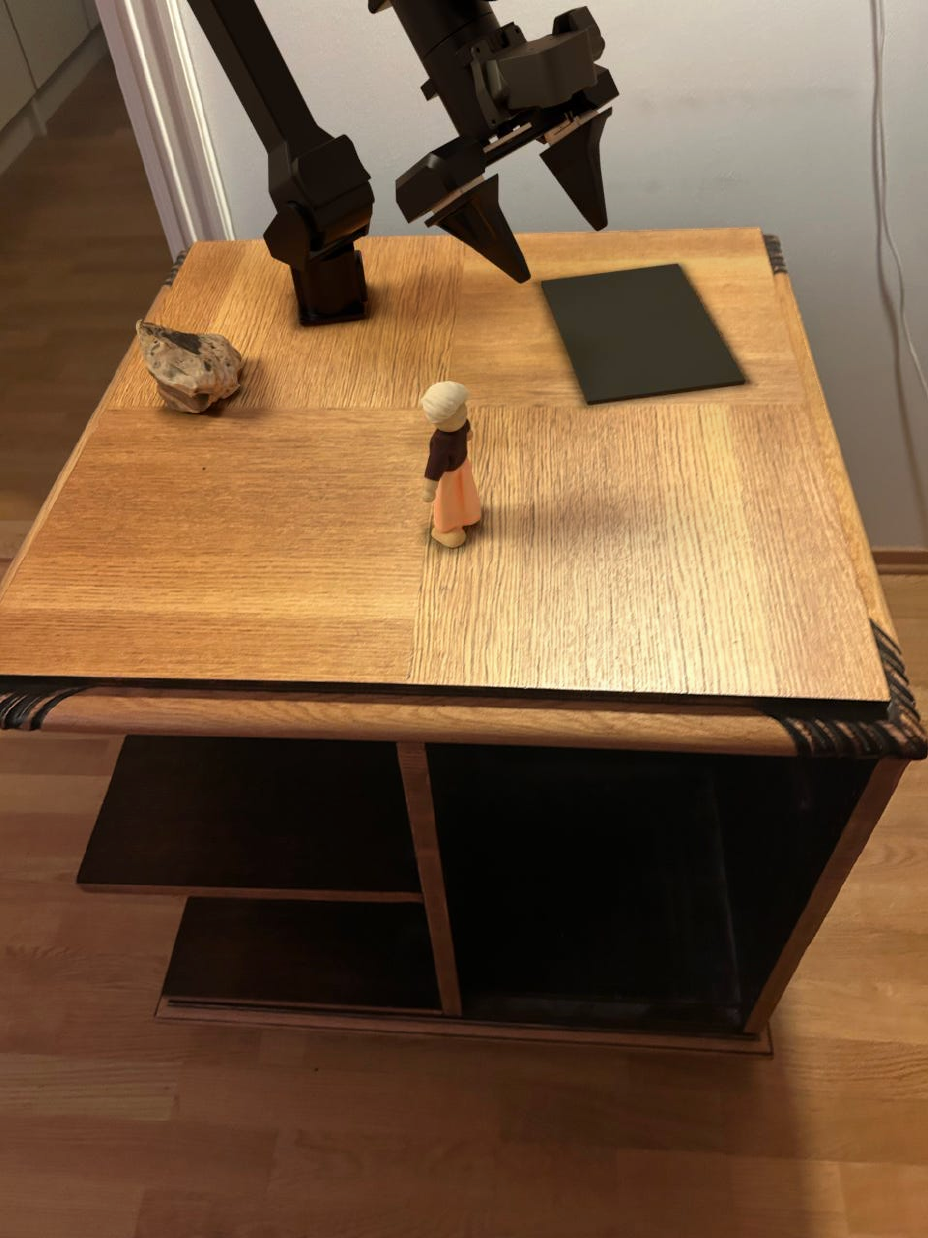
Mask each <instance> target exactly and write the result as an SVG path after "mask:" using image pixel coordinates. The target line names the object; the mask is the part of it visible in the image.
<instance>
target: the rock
mask: <svg viewBox="0 0 928 1238" xmlns="http://www.w3.org/2000/svg"><path fill="white" fill-rule="evenodd" d="M135 329H136V333H137V336H138V343H139V345H140V354H141V356H142V358H143V359H144V361H145V362H146V369H147V372H148V373H149V375H150V376H151V377H152V378H153V379H154V380H156V386H155V387H156V390H157V393H158V394H159V396H160V397H161V398H162V400H163V401H164V403H165V404H166V405H167V406H168V407H169V408H170V410H173V411H177V412H180V413H193V414H199V413H203V412H204V411H206V409H208V408H209V407H210V406H211V404H212V403H215V402H217V401H218V400H219V399H226V398H228V397H230V396H232V395H233V394H234V393H235V391H237V390H239V388H240V387H241V384H240V383H239V381H238V372H239V371H240V370H241V369H242V368H244V367H245V364H244V363H243V362H242V361H243V360H242V354H241V353H240V352H239V351H238V350H237V348H235V347H234V346H233V345H232V344H231V342H230V341H229V339H227V338H226V337H225V336H224V335H222V334H219V333H211V332H210V333H203V332H202V333H201V332H197V333H194V332H189V333H188V332H182V331H179V330H175V329H174V328H171V327H167V326H166V327H165V326H163V325H160V324H155V323H153V322H149V321H148V322H147V321H144V319H138V320H136V324H135Z"/></svg>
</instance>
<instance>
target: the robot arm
mask: <svg viewBox="0 0 928 1238" xmlns="http://www.w3.org/2000/svg"><path fill="white" fill-rule="evenodd" d="M497 1H498V0H367V9H368V12H369V13H370V14H372V15H376V14H378V13H380V12H383V11H385V10H388V9H390V8H392V9H393V11H394V13H395V15H396V17H397V18H398V21H399V22H400V25H401V26H402V28H403V31H404V32H405V34H406V36H407V38H408V40H409V42H410V44H411V46H412V48H413V49H414V51H415V54H416V55H417V58H418V59H419V61H420V63H421V65H422V67H423V69H424V71H425V73H426V75H427V77H428V79H427V80H426V81H425V82H424V83H423V84H421V86H419V89H420V90H421V92H422V95H423V96H424V98H425V100H426V102H429V101H431V100H433V99H435V98H437V97H438V98H439V100H440V102H441V104H442V106H443V107H444V109H445V111H446V113H447V116H448V117H449V119H450V121H451V123H452V125H453V127H454V129H455V130H456V131H455V132H456V133H457V134H458V136H457V137H455V138H453V139H451V140H449V141H448V142H445V143H444V144H442V145H440V146H439V147H437V148H435V149H432V150H431V151H429V152H428V153H427V154H426V155H424V156H423V157H422V158H421V159H419V160H418V161H417V162H416V163H415V164H413V165H412V166H411V167H410V168H408V169H407V170H406V171H405V172H403V173H402V174H401V175H400V176H399V177H397V178H396V179H395V180H394V181H395V185H394V188H395V203H396V204H397V207H398V208H399V211H400V212H401V213H402V215H403V217H404V219H405V221H406V222H407V224H408V225H409V224H412V223H414V222H415V221H416V220H418V219H420V218H422V217H423V216H425V215H427V214H428V213H430V212H432V214H433V215H431V216H429V218H427V219H426V220H424V221H423V223H424V225H425V227H426V228H427V229H430V228H432V227H433V226H436V227H438V228H439V229H441V230H442V231H445V233H447V234H449V235H451V236H452V237H454V238H456V239H457V240H459V241H460V242H461V243H463V244H465V245H467V246H468V247H470V248H471V249H472V250H473V251H475V252H477V253H478V254H479V255H481V256H482V257H483V258H485V259H486V260H487V261H489V262H490V263H491V264H493V265H494V266H495V267H496V268H498V269H499V270H500V271H502V272H503V273H505V275H507V276H508V277H510V278H511V279H512V280H513V281H515V282H516V283H518V284H520V285H522V284H524V283H526V282H528V281H529V280H531V278H532V274H531V271H530V269H529V266H528V262H527V260H526V258H525V256H524V253H523V251H522V249H521V247H520V246H519V245H520V244H519V243H518V241H517V239H516V237H515V234H514V233H513V230H512V229H511V227H510V224H509V222H508V220H507V218H506V216H505V214H504V212H503V210H502V208H501V206H500V203H499V199H500V198H499V197H500V196H499V195H500V193H499V190H500V189H499V187H500V177H499V176H500V175H499V172H497V173H495V174H493V175H492V176H489V177H488V178H486V179H485V177H484V174H485V173H486V169H488V168H490V166H492V165H494V164H496V163H497V162H499V161H501V160H502V159H504V158H506V157H508V156H510V155H511V154H513V153H515V152H516V151H518V150H520V149H522V148H523V147H525V146H527V145H528V144H530V143H532V142H535V141H536V142H538V143H539V144H542V145H544V146H545V145H546V144H548V146H549V147H547V148H546V149H544V150H543V151H541V152H540V153H539V154H538V156H539V157H540V159H541V160H542V162H543V163H544V165H545V166H546V167H547V169H548V170H549V172H550V173H551V174H552V177H554V178H555V180H556V181H557V183H558V184H559V185H560V187H561V188H562V189H563V191H564V192H565V194H566V195H567V196H568V198H569V199H570V200H571V203H573V205H574V206H575V208H576V209H577V210H578V212H579V213H580V215H581V216H582V217H583V218H584V219H585V221H586V222H587V223H588V224H589V225H590V226H591V228H592V229H593V230H594V231H595V232H600V231H602V230H604V229H605V228H607V227H608V226H609V220H608V212H607V204H606V197H605V187H604V181H603V173H602V165H601V164H602V163H601V148H600V145H601V140H602V136H603V132H604V130H605V126H606V123H607V120H608V119H609V118H610V117H611V116H613V111H614V110H613V105H611V106H610V107H608V108H606V109H604V110H603V111H601V112H599V110H600V109H602V108H604V106H606V105H608V104H609V103H610V102H612V101H613V100H615V99H616V98H618V97H619V96H620V95H621V94H620V92H619V89H618V87H617V85H616V83H615V80H614V78H613V76H612V74H611V72H610V70H609V68H607V67H604V66H601V65H599V64H597V63H595V62H597V61H598V60H600V59H601V58H602V55H603V54H604V51H605V49H606V41H605V39H604V37H603V36H602V32H601V29H600V27H599V25H598V23H597V22H596V20H595V17H594V16H593V15H592V12H591V10H590V8H588V5H583V6H579V7H575V8H571V9H569V10H567V11H564V12H563V13H561V14H558V15H557V16H555V17H554V19H553V23H552V30H551V33H548V34H546V35H544V36H542V37H539V38H537V39H533V40H527V39H526V37H525V35H524V32H523V31H522V28H521V27H520V26H519V25H517V24H515V21H514V20H513V21H510V22H508V23H505V24H504V25H502V26H501V24H500V22H499V20H498V18H497V16H496V14H495V12H494V10H493V8H492V5H491V2H497ZM186 2H187V4H188V5H189V7H190V9H191V11H192V13H193V15H194V17H195V19H196V21H197V22H198V23H197V24H199V27H200V29H201V30H202V33H203V34H204V36H205V38H206V40H207V41H208V43H209V45H210V47H211V49H212V51H213V53H214V55H215V56H216V57H215V58H217V61H218V62H219V65H220V66H221V68H222V69H223V72H224V74H225V75H226V77H227V80H228V81H229V83H230V85H231V87H232V89H233V90H234V93H235V94H236V96H237V98H238V100H239V102H240V104H241V106H242V108H243V109H244V111H245V114H246V115H247V117H248V119H249V121H250V123H251V124H252V126H253V129H254V130H255V132H256V134H257V136H258V138H259V140H260V141H261V143H262V146H263V147H264V149H265V152H266V154H267V184H268V185H267V191H268V195H269V197H270V199H271V202H272V204H273V206H274V209H275V211H276V214H275V215H274V217H273V219H272V220H271V222H270V223H269V224H268V226H267V227H266V229H265V231H264V232H263V234H262V238H263V241H264V243H265V246H266V248H267V250H268V253H269V255H270V257H271V258H272V259H274V260H277V261H279V262H281V263H283V264H285V265H288V266H289V270H290V275H291V279H292V283H293V289H294V294H295V298H296V303H297V319H298V325H300V326H311V325H312V326H313V325H318V324H319V325H320V324H326V323H333V322H343V321H350V320H356V319H363V318H365V317H366V307H365V303H367V302H368V301H369V295H368V289H367V283H366V282H367V280H366V275H365V268H364V261H363V254H362V251H361V250H360V249H355V242H356V241H358V240H360V239H361V238H364V237H367V236H368V235H369V233H370V226H371V220H372V217H373V211H374V204H375V201H376V198H375V193H374V189H373V187H372V184H371V182H370V180H371V179H372V175H371V174H370V173H369V172H368V170H366V168H365V166H364V165H363V162H362V161H361V158H360V157H359V155H358V152H357V149H356V147H355V144H354V142H353V141H352V139H351V137H349V136H348V135H347V134H345V133H343V134H341V135H338V136H337V137H335V136H333V135H332V134H330V133H329V132H328V131H326V130H325V129H323V128H322V127H321V126H320V125H319V124H318V123H317V122H316V120H315V117H314V116H313V114H312V112H311V110H310V108H309V106H308V104H307V102H306V100H305V97H304V96H303V94H302V92H301V90H300V88H299V86H298V84H297V82H296V80H295V78H294V76H293V74H292V72H291V70H290V68H289V66H288V64H287V62H286V60H285V58H284V56H283V54H282V52H281V50H280V48H279V46H278V45H277V42H276V40H275V38H274V36H273V34H272V33H271V31H270V28H269V27H268V24H267V22H266V21H265V18H264V16H263V14H262V12H261V10H260V9H259V6H258V4H257V3H256V1H255V0H186ZM494 138H497V140H495V141H493V142H491V140H492V139H494Z"/></svg>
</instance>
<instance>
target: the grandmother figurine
mask: <svg viewBox="0 0 928 1238" xmlns="http://www.w3.org/2000/svg"><path fill="white" fill-rule="evenodd" d="M469 398H470V393H469V390H468V389H467V387H466V386H465V385H463V384H462V383H459V382H456V381H451V380H445V381H437V382H436V383H434V384H433V385H431V386H430V387H428V389H427V390H426V392H425V394H424V396H423V397H422V398H421V399H420V400H419V401H420V402H419V403H420V406H421V407H422V409H423V412H424V414H425V417H426V420H428V421H429V422H430V423H432V424H433V426H434V427H435V430H434V431H433V434H432V436H431V437H430V441H429V447H428V448H429V454H428V458H427V462H426V466H425V469H424V474H423V477H424V478H423V485H422V486H423V489H422V491H421V494H420V495H421V499H422V501H423V502H425V503H427V504H429V503H432V504H433V524H434V527H433V528H432V530H431V537H432V538H433V539H434V540H436V541H437V542H438V543H440V544H442V545H443V546H444V547H447V548H450V549H451V548H452V549H455V548H458V547H461V546H462V545H463V544H464V543H465V542H466V540H467V534H466V531H464V529H463V526H471V525H474V524H476V523H477V522H478V521H480V519H481V518H482V509H481V508H482V507H481V501H480V498H479V494H478V489H477V485H476V481H475V478H474V474H473V468H472V465H471V461H470V459H469V456H468V453H469V452H468V442H470V441H472V440H473V439H474V431H473V429H472V427H471V422H470V420H469V418H468V407H467V404H466V403H467V402H468V400H469Z"/></svg>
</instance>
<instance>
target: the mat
mask: <svg viewBox="0 0 928 1238" xmlns="http://www.w3.org/2000/svg"><path fill="white" fill-rule="evenodd" d="M540 285H541V288H542V290H543V294H544V296H545V299H546V301H547V303H548V306H549V309H550V311H551V315H552V316H553V319H554V322H555V324H556V327H557V330H558V333H559V335H560V337H561V338H560V339H561V341H562V342H563V345H564V348H565V350H566V354H567V357H568V358H569V361H570V364H571V367H572V370H573V371H574V374H575V378H576V380H577V383H578V384H579V387H580V390H581V392H582V395H583V398H584V400H585V401H584V402H585V403H586V405H587V406H589V405H596V404H604V403H610V402H617V401H625V400H626V401H627V400H633V399H641V398H648V397H655V396H663V395H669V394H677V393H682V392H683V393H684V392H685V393H686V392H691V391H700V390H706V389H714V388H722V387H728V386H737V385H743V384H744V385H745V384H746V378H745V376H744V374H743V373H742V371H741V369H740V368H739V366H738V364H737V362H736V360H735V359H734V357H733V356H732V354H731V352H730V350H729V349H728V347H727V345H726V344H725V342H724V340H723V338H722V337H721V335H720V333H719V331H718V330H717V328H716V326H715V325H714V323H713V320H711V318H710V316H709V314H708V313H707V311H706V309H705V307H704V306H703V304H702V302H701V300H700V298H699V297H698V295H697V294H696V292H695V290H694V288H693V286H692V285H691V283H690V282H689V279H688V278H687V277H686V274H685V273H684V271H683V269H682V268H681V266H680V263H668V264H662V265H661V264H660V265H654V266H647V267H637V268H631V269H630V268H629V269H624V270H615V271H608V272H600V273H599V272H598V273H593V274H592V273H591V274H584V275H575V276H568V277H560V278H553V279H545V280H540Z"/></svg>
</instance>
